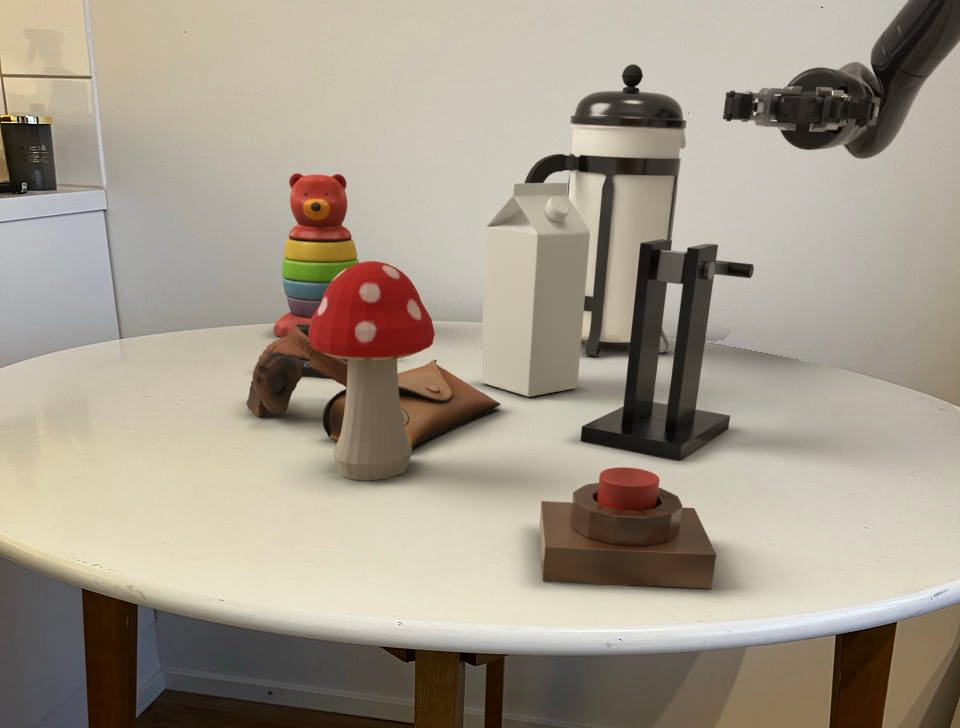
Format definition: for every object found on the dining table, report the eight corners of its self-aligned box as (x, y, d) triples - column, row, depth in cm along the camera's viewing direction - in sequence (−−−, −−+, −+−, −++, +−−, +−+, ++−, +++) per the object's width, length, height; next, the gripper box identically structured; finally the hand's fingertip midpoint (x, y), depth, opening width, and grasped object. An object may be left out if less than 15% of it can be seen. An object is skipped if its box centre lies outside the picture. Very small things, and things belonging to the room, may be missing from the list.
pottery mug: (264, 398, 97) (305, 322, 95) (344, 453, 96) (387, 377, 94) (203, 393, 86) (248, 306, 83) (293, 456, 85) (342, 370, 83)
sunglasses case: (410, 450, 81) (373, 371, 79) (347, 480, 85) (310, 405, 83) (506, 403, 95) (475, 336, 94) (448, 431, 99) (418, 367, 98)
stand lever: (697, 279, 95) (701, 251, 94) (751, 285, 92) (756, 257, 91) (638, 279, 83) (642, 248, 83) (698, 286, 81) (703, 254, 80)
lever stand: (636, 412, 96) (656, 233, 89) (728, 429, 92) (756, 243, 85) (580, 441, 87) (597, 243, 80) (679, 460, 83) (706, 255, 76)
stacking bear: (270, 337, 121) (261, 173, 113) (287, 322, 130) (280, 169, 122) (360, 341, 121) (358, 177, 112) (371, 326, 130) (370, 173, 121)
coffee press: (564, 329, 133) (584, 66, 119) (683, 343, 127) (718, 69, 113) (510, 351, 119) (524, 57, 105) (640, 368, 113) (674, 59, 99)
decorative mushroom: (381, 497, 72) (380, 275, 65) (287, 474, 76) (276, 261, 69) (455, 463, 80) (461, 261, 73) (366, 443, 84) (363, 250, 77)
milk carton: (479, 384, 104) (487, 180, 95) (528, 375, 108) (540, 180, 99) (528, 398, 99) (541, 186, 90) (577, 389, 104) (594, 185, 95)
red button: (652, 495, 64) (655, 468, 63) (660, 515, 60) (663, 487, 60) (594, 492, 64) (597, 465, 63) (599, 512, 60) (602, 484, 60)
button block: (690, 539, 67) (698, 481, 65) (711, 589, 60) (721, 525, 58) (539, 532, 67) (543, 474, 65) (542, 581, 60) (547, 517, 58)
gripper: (763, 67, 109) (713, 60, 96) (902, 70, 102) (867, 63, 90) (752, 145, 112) (702, 148, 100) (885, 153, 106) (850, 156, 93)
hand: (780, 107), depth 95 cm, fingers open, 8 cm apart
